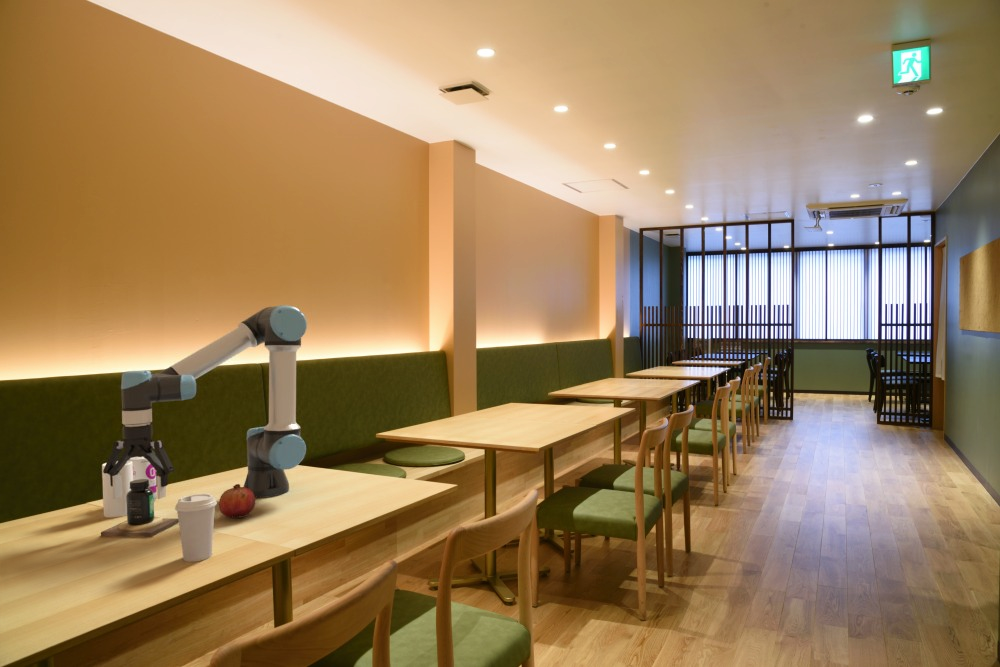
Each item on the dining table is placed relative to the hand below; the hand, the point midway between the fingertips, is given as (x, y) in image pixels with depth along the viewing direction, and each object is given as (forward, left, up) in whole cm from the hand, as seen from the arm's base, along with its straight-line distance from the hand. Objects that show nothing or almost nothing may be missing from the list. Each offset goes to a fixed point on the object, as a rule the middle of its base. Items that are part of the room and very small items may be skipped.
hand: (139, 497), depth 185 cm
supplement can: (+19, -28, -9) cm, 35 cm away
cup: (+18, -15, -9) cm, 25 cm away
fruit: (-23, -12, -9) cm, 28 cm away
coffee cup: (-30, +21, -9) cm, 38 cm away
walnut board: (0, 0, -9) cm, 9 cm away
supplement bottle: (0, 0, -7) cm, 7 cm away
